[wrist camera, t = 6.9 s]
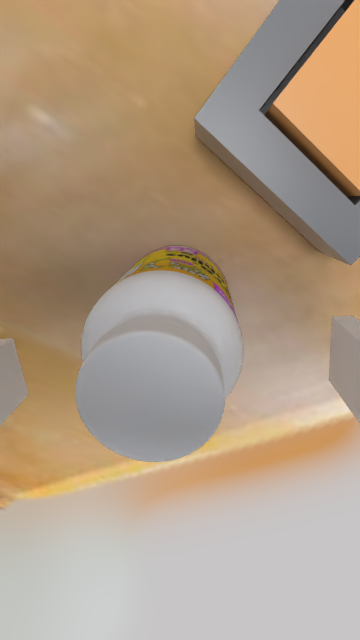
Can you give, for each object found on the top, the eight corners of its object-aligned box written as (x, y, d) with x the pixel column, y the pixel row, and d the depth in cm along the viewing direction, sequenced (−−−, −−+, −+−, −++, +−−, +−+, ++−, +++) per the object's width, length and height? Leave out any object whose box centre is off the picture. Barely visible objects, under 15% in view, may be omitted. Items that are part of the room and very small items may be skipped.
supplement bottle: (248, 294, 22) (306, 407, 10) (178, 357, 24) (157, 518, 12) (175, 220, 21) (140, 249, 9) (107, 293, 23) (1, 401, 11)
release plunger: (258, 122, 17) (272, 103, 14) (343, 15, 15) (383, -37, 12) (333, 196, 18) (364, 195, 15) (421, 102, 16) (479, 77, 13)
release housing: (195, 136, 19) (194, 118, 15) (333, -50, 16) (380, -139, 12) (320, 252, 21) (350, 265, 17) (464, 104, 18) (546, 74, 14)
